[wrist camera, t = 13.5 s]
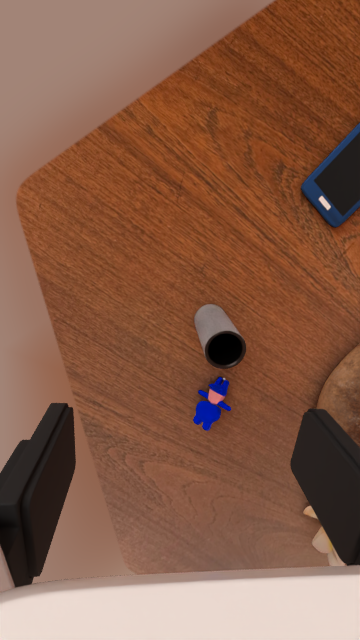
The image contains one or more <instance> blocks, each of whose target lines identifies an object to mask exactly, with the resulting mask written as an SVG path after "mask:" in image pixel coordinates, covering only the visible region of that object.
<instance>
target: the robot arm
mask: <svg viewBox="0 0 360 640" xmlns="http://www.w3.org/2000/svg"><path fill="white" fill-rule="evenodd" d="M75 460H76V459H75V437H74V416H73V408H72V407H68V404H67V403H51V404H50V406H49V408H48V409H47V411H46V413H45V415H44V416H43V418H42V420H41V421H40V423H39V425H38V427H37V429H36V431H35V432H34V434H33V435H32V437H31V439H30V440H22V441H20V443H19V444H18V445H17V447H16V449H15V450H14V452H13V453H12V455H11V457H10V458H9V460H8V461H7V463H6V465H5V466H4V468H3V470H2V471H1V473H0V640H360V447H359V446H358V445H357V444H356V443H355V442H354V441H353V440H352V438H351V437H350V436H349V435H348V434H347V433H346V432H345V431H344V430H343V428H342V427H341V426H340V425H339V424H338V423H337V422H336V421H335V420H334V418H333V417H332V416H331V415H330V414H329V413H328V412H327V411H326V410H325V409H309V410H308V411H307V412H305V413H304V415H303V419H302V422H301V426H300V430H299V433H298V437H297V440H296V444H295V448H294V451H293V455H292V458H291V470H292V472H293V474H294V476H295V478H296V479H297V481H298V483H299V485H300V487H301V489H302V490H303V492H304V494H305V496H306V498H307V499H308V501H309V503H310V505H311V507H312V509H313V510H314V512H315V514H316V516H317V518H318V520H319V521H320V523H321V525H322V527H323V529H324V531H325V532H326V534H327V536H328V538H329V540H330V542H331V543H332V545H333V547H334V549H335V551H336V553H337V554H338V556H339V558H340V559H341V561H342V562H343V563H346V564H347V566H324V567H296V568H271V569H247V570H224V571H202V572H181V573H161V574H141V575H122V576H121V575H120V576H106V577H91V578H77V579H64V580H56V581H48V582H40V583H35V584H32V581H33V578H34V577H37V576H40V574H41V572H42V569H43V566H44V563H45V560H46V557H47V554H48V550H49V548H50V545H51V541H52V539H53V535H54V532H55V529H56V526H57V523H58V520H59V517H60V514H61V511H62V508H63V505H64V502H65V498H66V495H67V492H68V489H69V486H70V483H71V480H72V477H73V474H74V470H75V463H76V461H75Z"/></svg>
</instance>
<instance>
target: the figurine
mask: <svg viewBox="0 0 360 640" xmlns="http://www.w3.org/2000/svg"><path fill="white" fill-rule="evenodd" d="M223 380H224V382H223V384H222V381H223ZM221 384H222V386H221ZM228 385H229V381H228V380H225V378H222V377H218V379H217V381H216V382H215V383H214V384H209V386H210V387H211V388H210V390H209V393H206V392H204V391H202V390H199V391H198V393H199V394H200V395H202V396H203V397H205V398H207V399H208V400H209V401H210V402H208V401H200V402H199V403H198V404H197V406H196V415H195V417H194V419H193V421H194V423H195V424H197V425H199V424H201V423H202V422H203V426H202V427H203V429H204V430H207V431H208V430H210V428H211V425H212V423H213V422H215V421H217V420H218V419H219V418H220V415H221V409H220V408H219V407H217V406H216V405H219V406H220V407H222V408H224V409H225V410H227V411H230V410H231V407H230V406H228V405H227V404H225V403H224V402H223V399H224V398H225V397H226V394H227V389H228Z"/></svg>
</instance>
